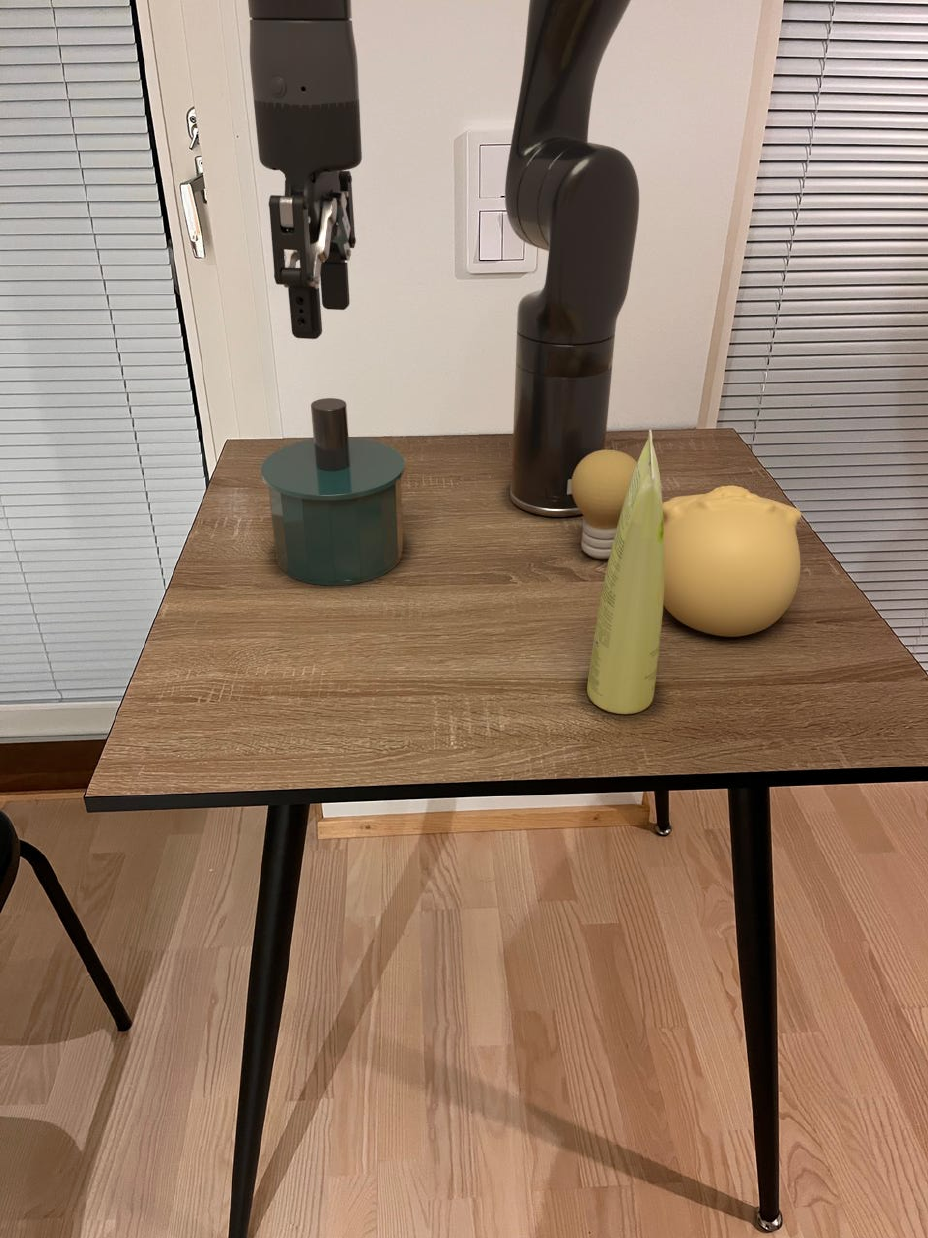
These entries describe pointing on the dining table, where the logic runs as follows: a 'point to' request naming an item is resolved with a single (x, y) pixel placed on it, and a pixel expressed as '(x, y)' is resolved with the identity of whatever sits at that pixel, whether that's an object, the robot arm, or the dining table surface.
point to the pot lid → (332, 460)
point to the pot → (338, 536)
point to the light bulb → (601, 497)
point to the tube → (632, 598)
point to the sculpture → (729, 560)
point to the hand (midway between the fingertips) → (322, 322)
